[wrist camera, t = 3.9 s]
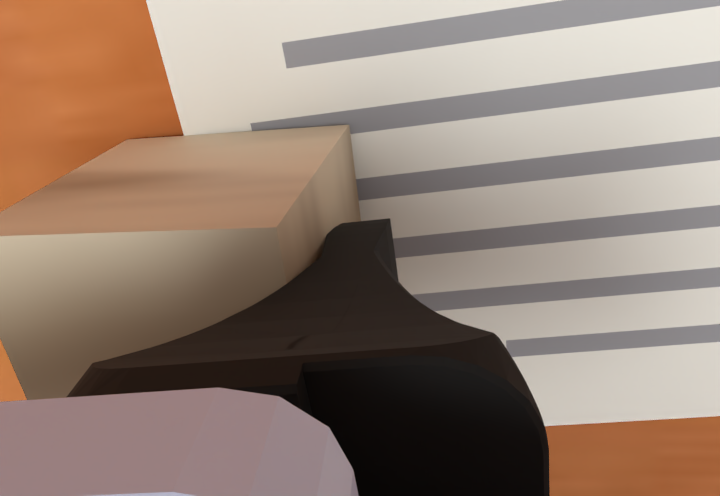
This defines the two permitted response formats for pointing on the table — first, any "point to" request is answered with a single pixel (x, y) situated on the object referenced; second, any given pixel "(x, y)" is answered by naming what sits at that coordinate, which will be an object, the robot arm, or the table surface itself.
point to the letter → (508, 168)
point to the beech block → (163, 243)
